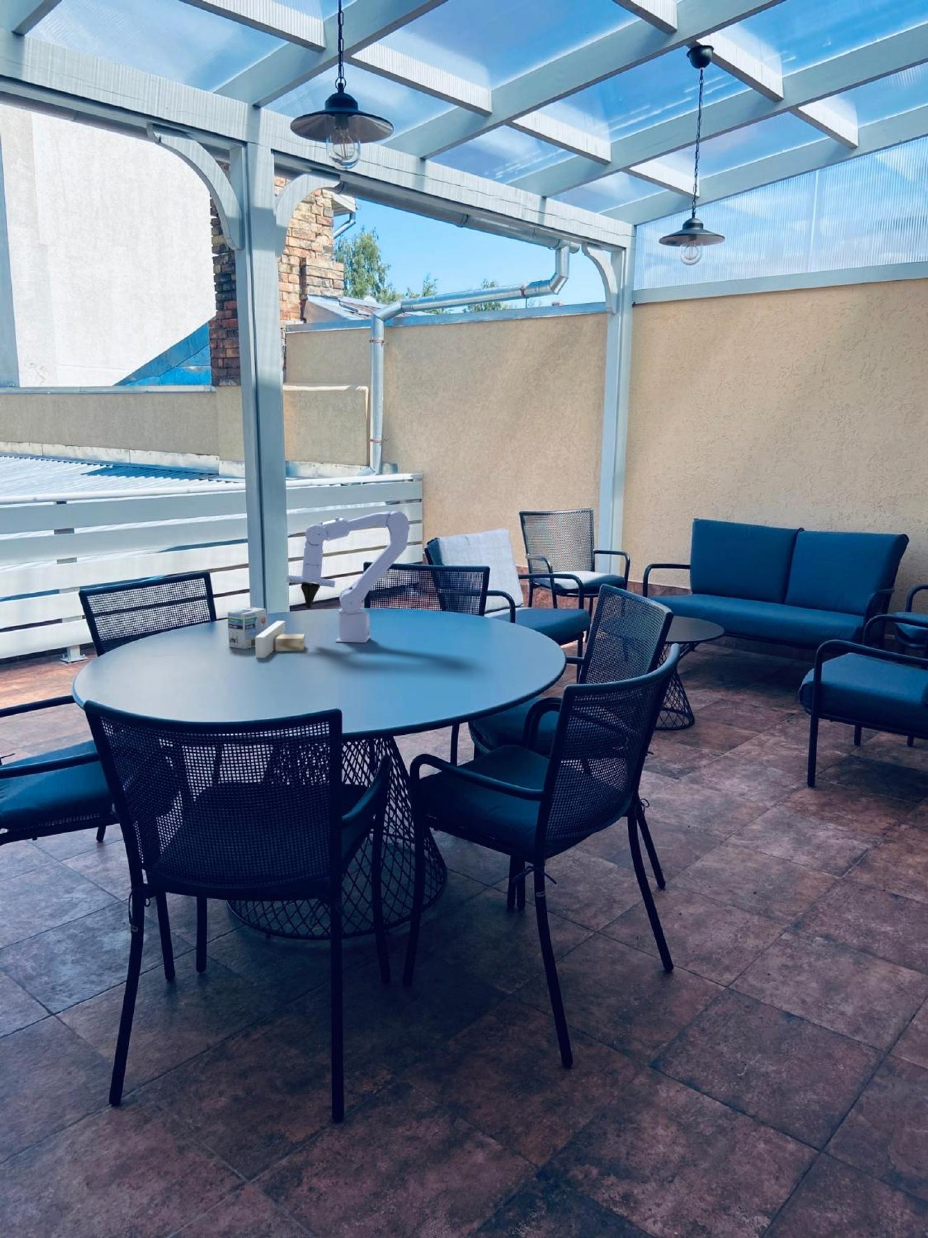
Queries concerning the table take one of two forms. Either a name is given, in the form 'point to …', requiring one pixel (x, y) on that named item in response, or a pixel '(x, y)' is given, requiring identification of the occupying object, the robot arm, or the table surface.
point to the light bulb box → (245, 626)
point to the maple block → (290, 642)
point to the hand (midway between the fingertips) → (308, 607)
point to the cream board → (268, 639)
